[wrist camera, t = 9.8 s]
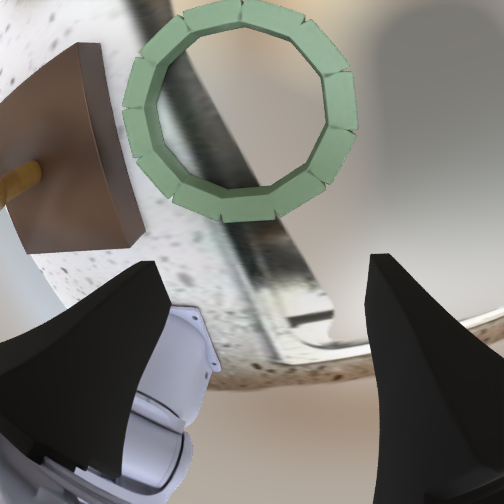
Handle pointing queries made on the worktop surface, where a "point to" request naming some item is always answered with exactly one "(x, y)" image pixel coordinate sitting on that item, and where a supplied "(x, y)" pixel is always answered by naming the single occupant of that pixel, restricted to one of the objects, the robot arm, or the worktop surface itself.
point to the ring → (253, 198)
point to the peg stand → (66, 159)
